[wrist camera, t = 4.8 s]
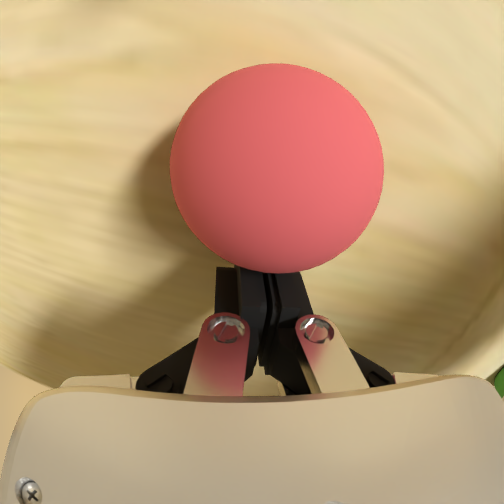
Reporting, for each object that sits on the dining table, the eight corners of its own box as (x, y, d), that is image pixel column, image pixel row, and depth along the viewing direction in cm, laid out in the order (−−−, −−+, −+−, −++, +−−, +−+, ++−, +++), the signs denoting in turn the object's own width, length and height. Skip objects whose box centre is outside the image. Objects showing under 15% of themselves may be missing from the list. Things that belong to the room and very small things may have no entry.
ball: (280, 94, 11) (307, -6, 5) (369, 206, 11) (466, 176, 5) (160, 174, 11) (92, 111, 5) (252, 298, 11) (265, 352, 5)
